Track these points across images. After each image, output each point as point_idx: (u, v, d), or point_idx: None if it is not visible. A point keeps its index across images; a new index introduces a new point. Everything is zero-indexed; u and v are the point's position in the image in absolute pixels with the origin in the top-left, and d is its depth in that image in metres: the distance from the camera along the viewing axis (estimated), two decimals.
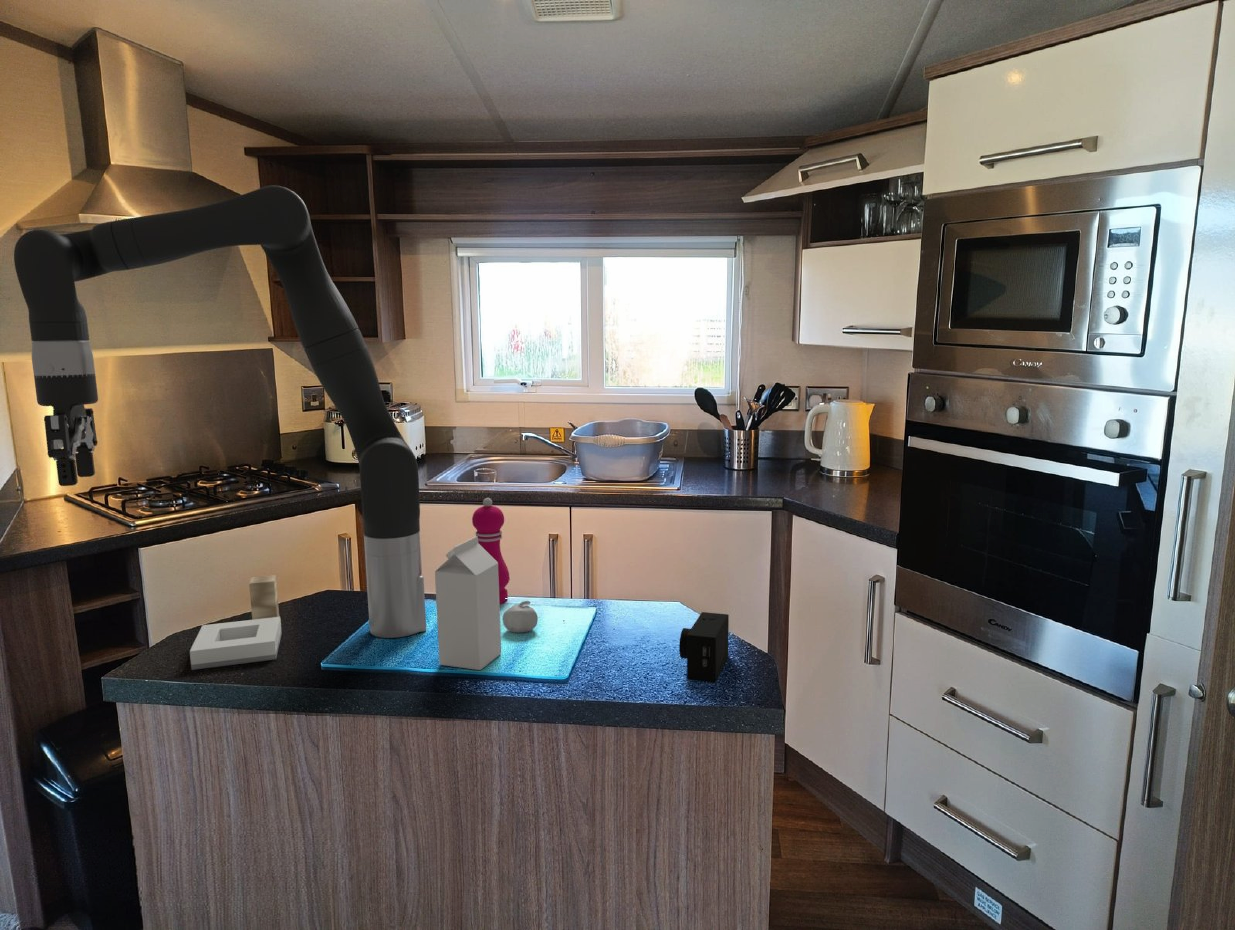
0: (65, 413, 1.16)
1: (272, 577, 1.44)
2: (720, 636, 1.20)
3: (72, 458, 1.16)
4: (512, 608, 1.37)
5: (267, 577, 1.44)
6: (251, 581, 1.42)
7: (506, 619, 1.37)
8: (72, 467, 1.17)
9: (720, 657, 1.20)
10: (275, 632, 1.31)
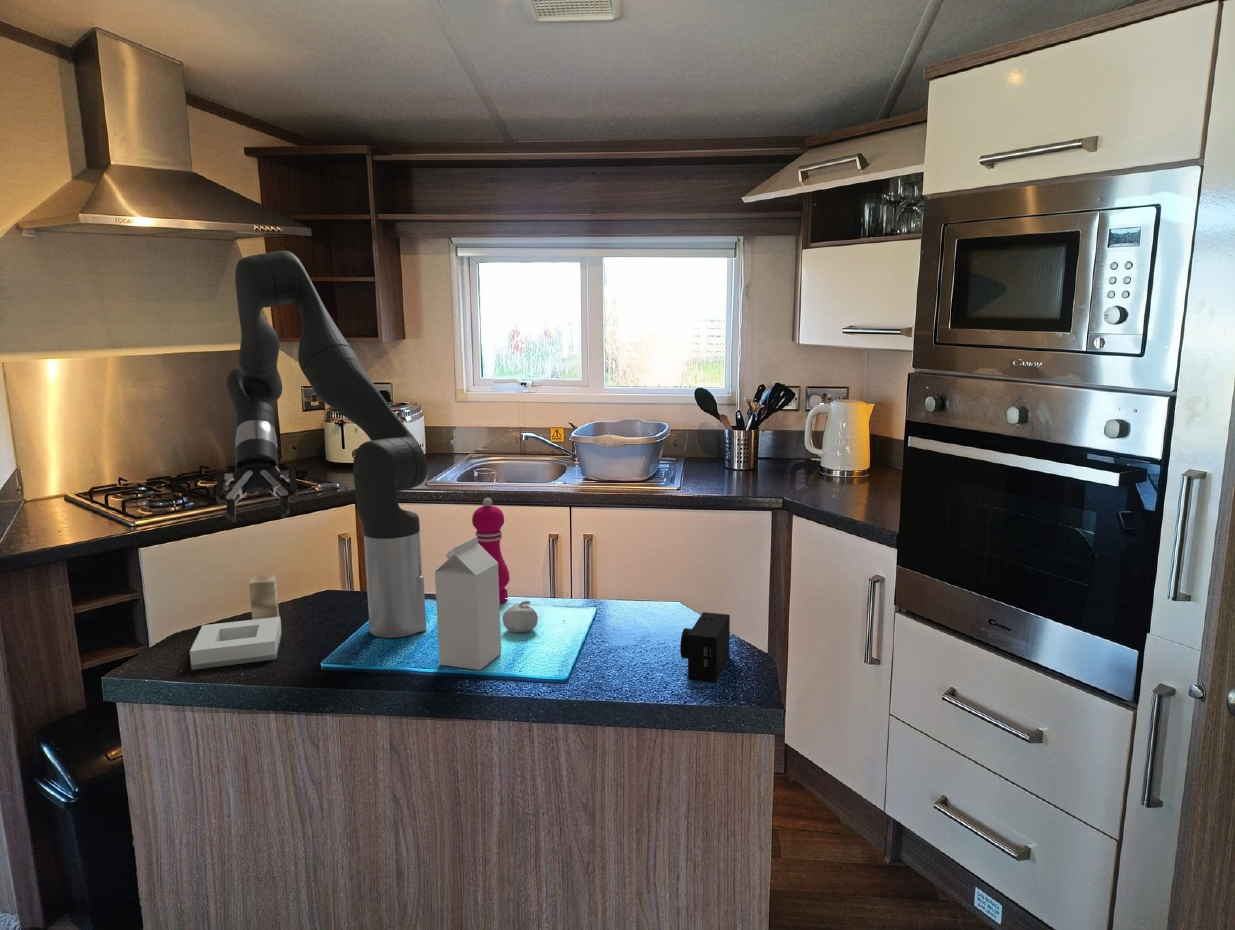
0: None
1: (272, 577, 1.44)
2: (721, 636, 1.19)
3: (227, 498, 1.50)
4: (512, 608, 1.37)
5: (267, 577, 1.44)
6: (251, 581, 1.42)
7: (506, 619, 1.37)
8: (230, 505, 1.50)
9: (721, 657, 1.20)
10: (275, 632, 1.31)
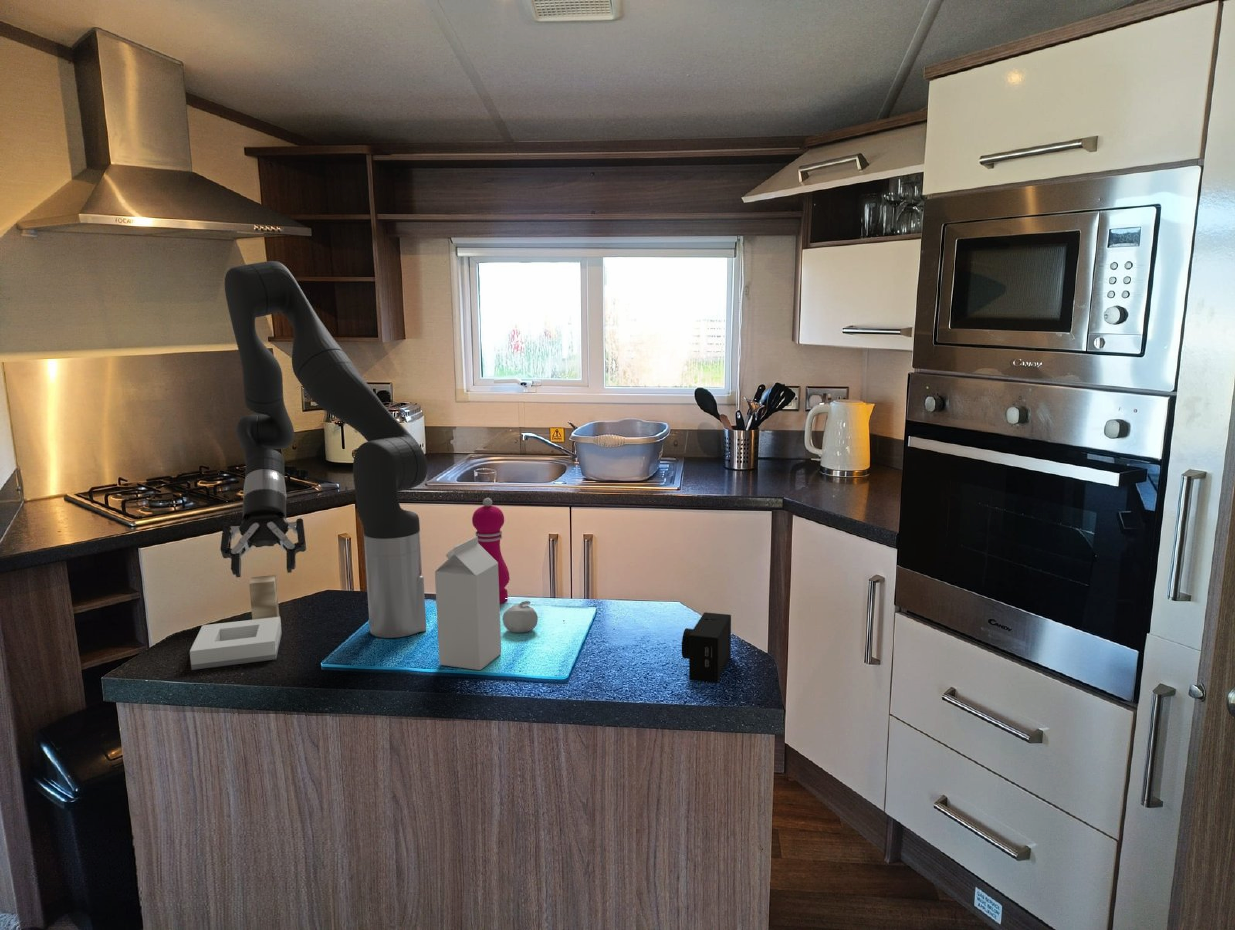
0: (241, 524, 1.49)
1: (272, 577, 1.44)
2: (722, 636, 1.19)
3: (232, 553, 1.45)
4: (512, 608, 1.37)
5: (267, 577, 1.44)
6: (251, 581, 1.42)
7: (506, 619, 1.37)
8: (235, 560, 1.45)
9: (722, 657, 1.20)
10: (275, 632, 1.31)
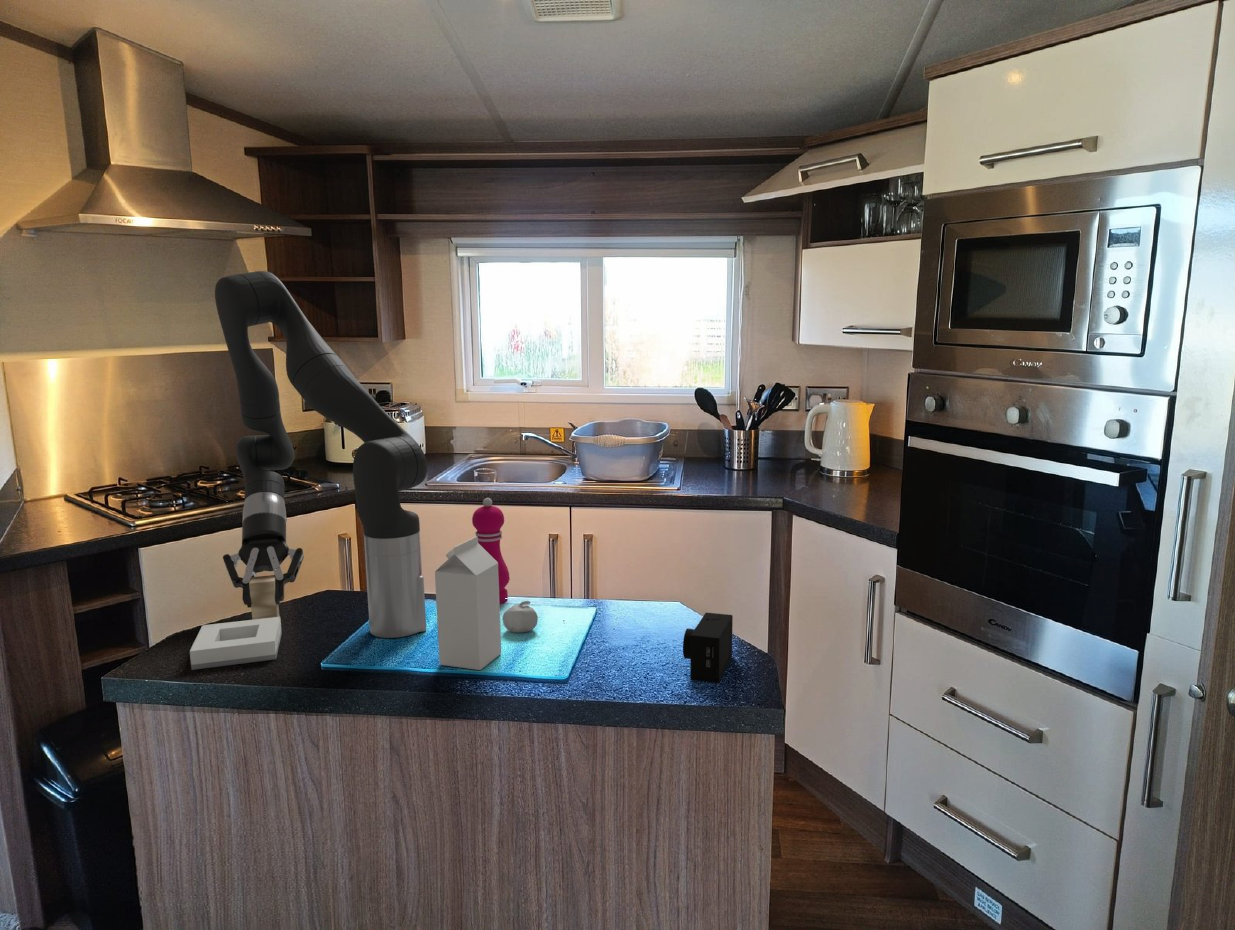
0: None
1: (272, 577, 1.44)
2: (724, 637, 1.19)
3: (245, 583, 1.42)
4: (512, 608, 1.37)
5: (267, 577, 1.44)
6: (251, 581, 1.42)
7: (506, 619, 1.37)
8: (246, 590, 1.42)
9: (724, 658, 1.20)
10: (275, 632, 1.31)
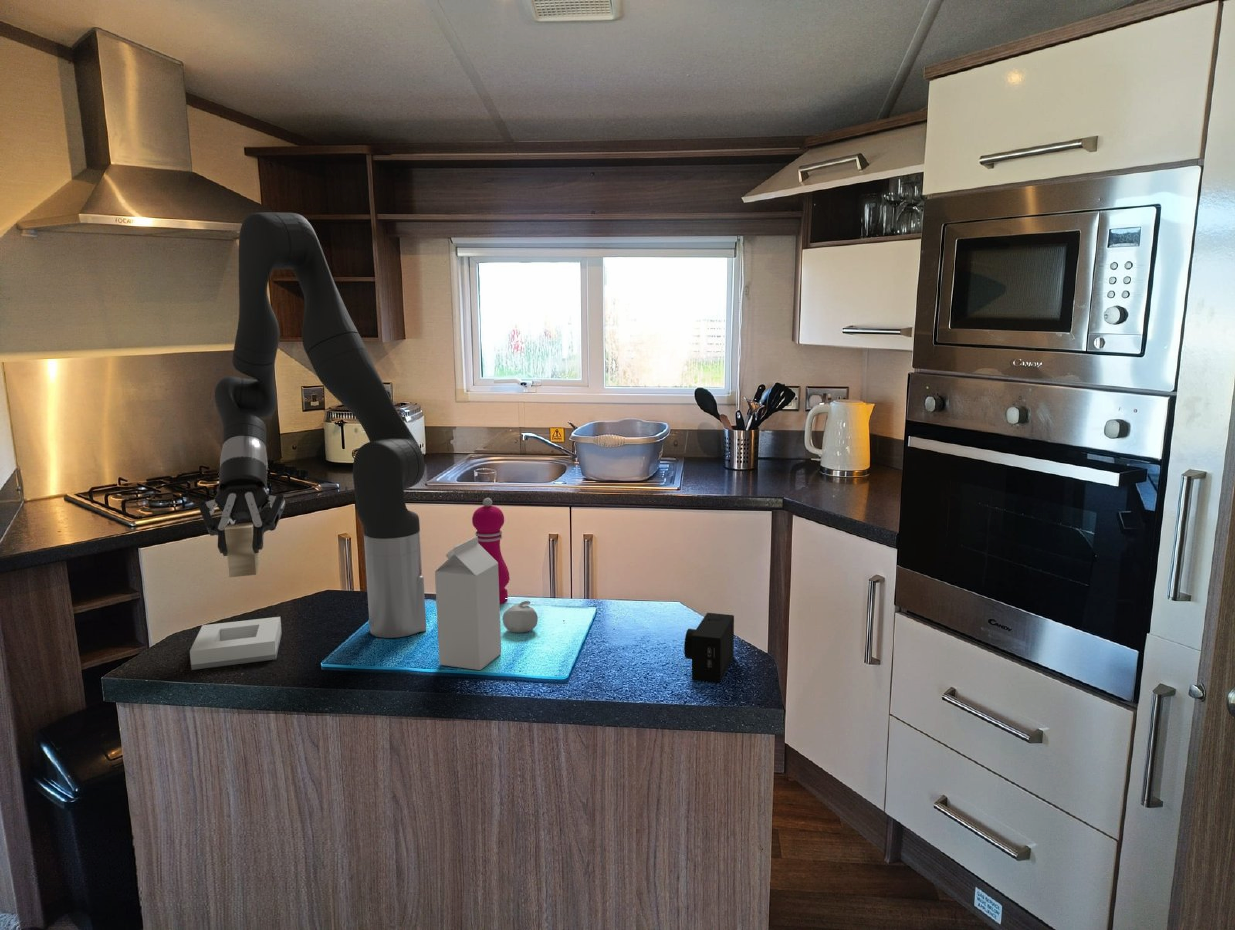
0: (215, 496, 1.36)
1: (250, 524, 1.34)
2: (725, 637, 1.19)
3: (220, 530, 1.32)
4: (512, 608, 1.37)
5: (245, 524, 1.34)
6: (227, 527, 1.32)
7: (506, 619, 1.37)
8: (222, 537, 1.32)
9: (725, 658, 1.20)
10: (275, 632, 1.31)
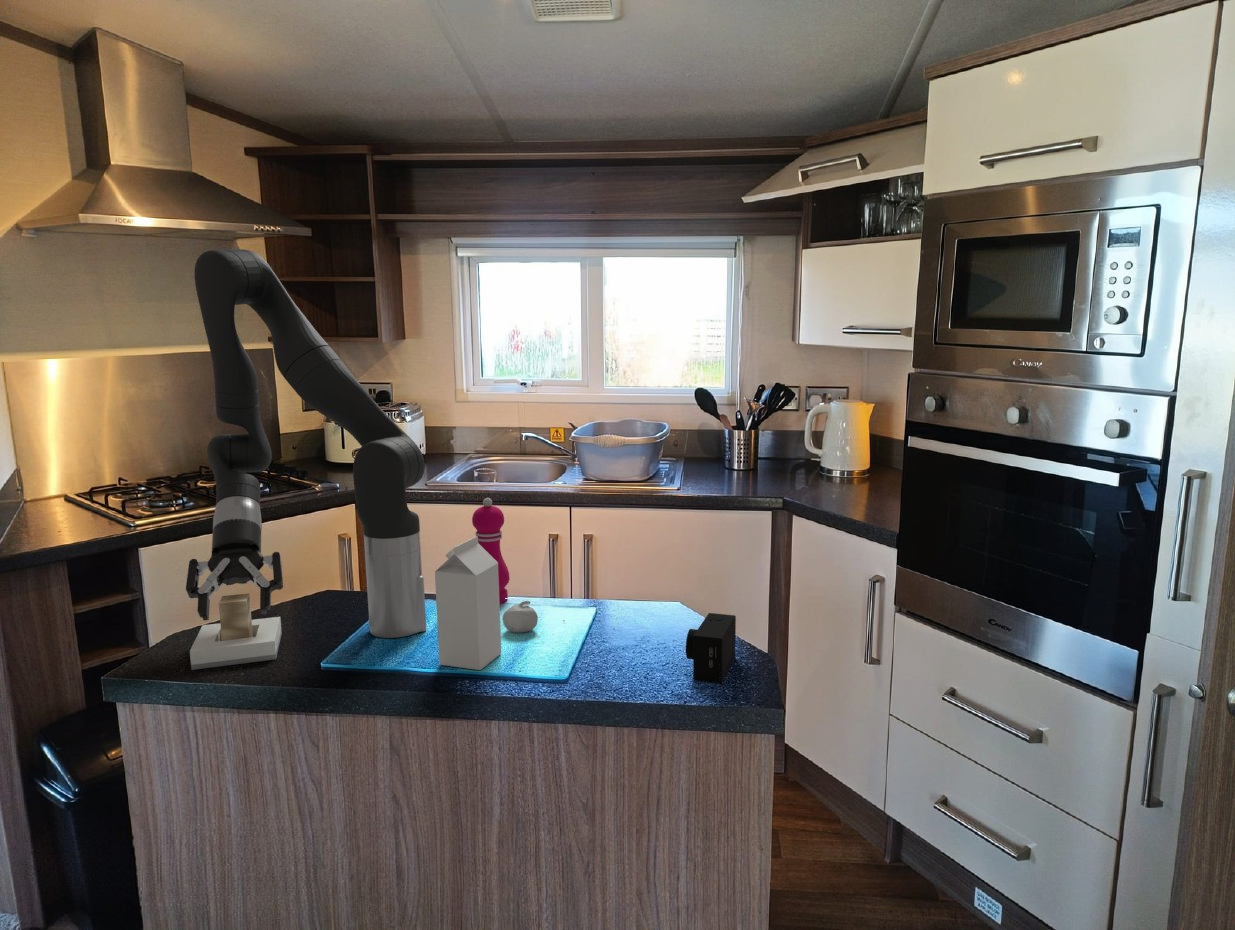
0: (209, 559, 1.33)
1: (245, 596, 1.31)
2: (727, 637, 1.19)
3: (199, 593, 1.29)
4: (512, 608, 1.37)
5: (239, 596, 1.31)
6: (221, 600, 1.29)
7: (506, 619, 1.37)
8: (202, 601, 1.28)
9: (727, 658, 1.20)
10: (275, 632, 1.31)
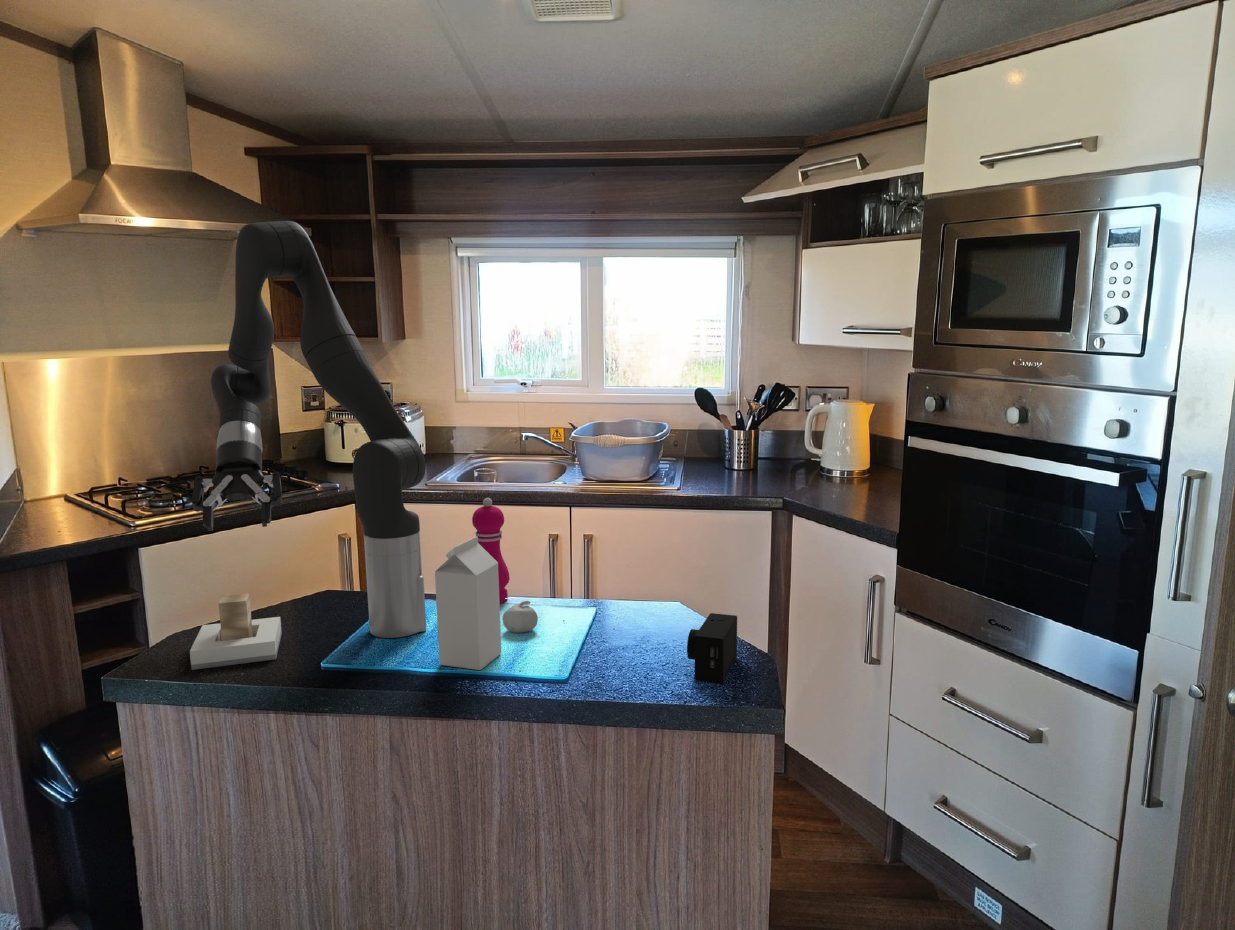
0: None
1: (245, 596, 1.31)
2: (728, 637, 1.19)
3: (204, 505, 1.38)
4: (512, 608, 1.37)
5: (239, 596, 1.31)
6: (221, 600, 1.29)
7: (506, 619, 1.37)
8: (207, 513, 1.38)
9: (728, 658, 1.19)
10: (275, 632, 1.31)
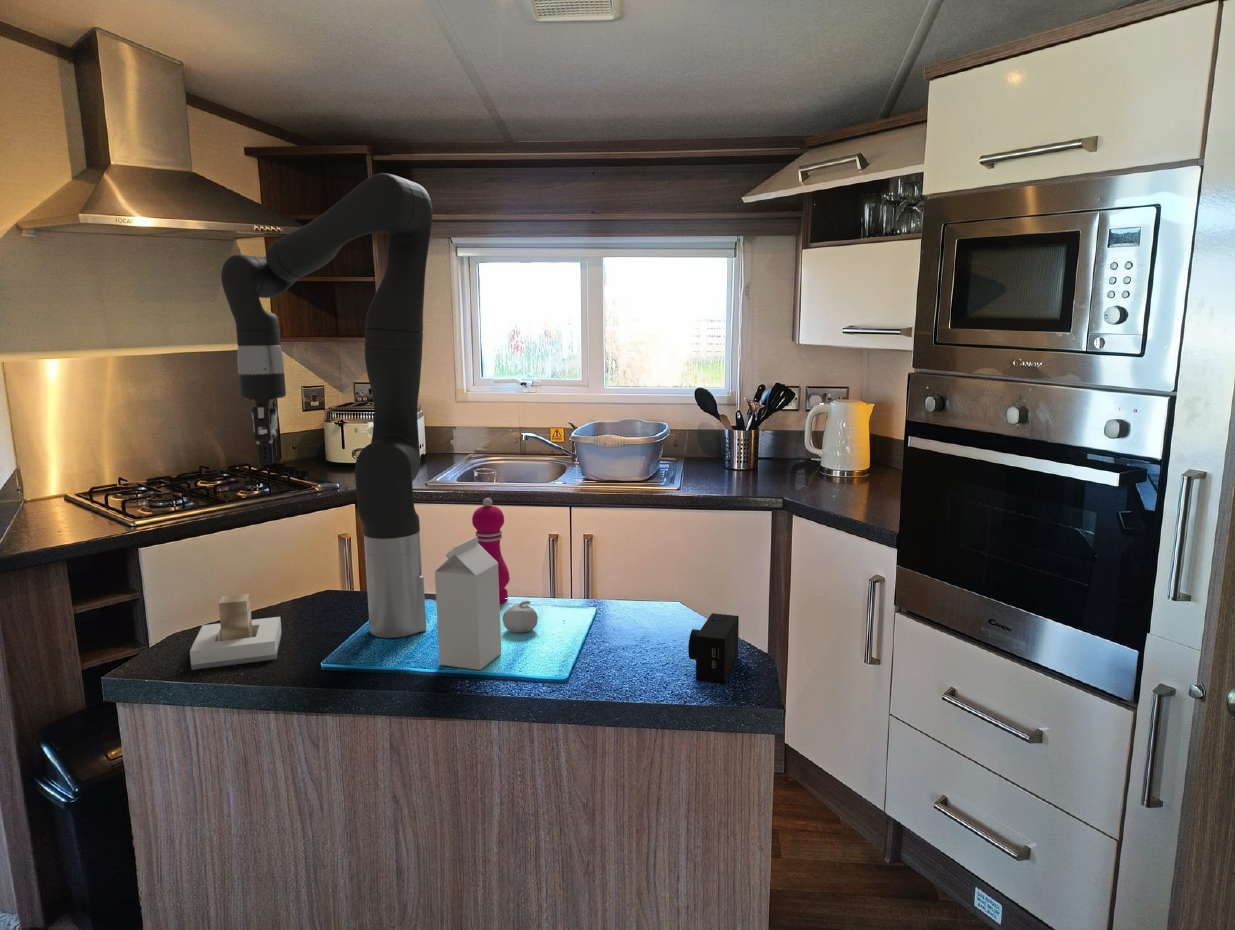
0: (265, 405, 1.41)
1: (245, 596, 1.31)
2: (729, 637, 1.19)
3: (271, 442, 1.41)
4: (512, 608, 1.37)
5: (239, 596, 1.31)
6: (221, 600, 1.29)
7: (506, 619, 1.37)
8: (270, 450, 1.42)
9: (729, 659, 1.19)
10: (275, 632, 1.31)
